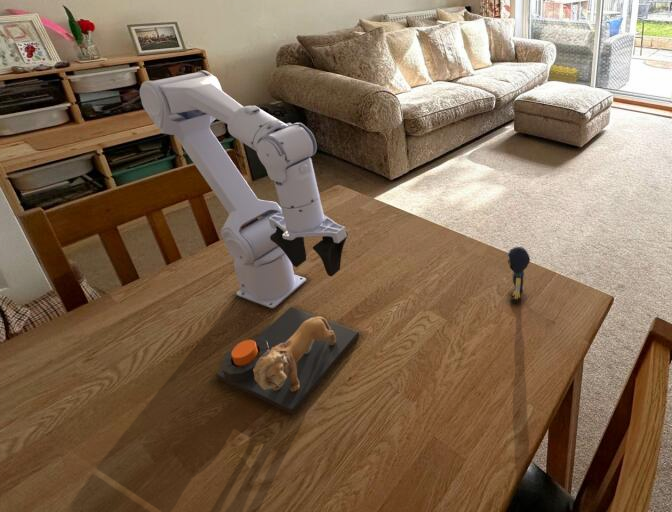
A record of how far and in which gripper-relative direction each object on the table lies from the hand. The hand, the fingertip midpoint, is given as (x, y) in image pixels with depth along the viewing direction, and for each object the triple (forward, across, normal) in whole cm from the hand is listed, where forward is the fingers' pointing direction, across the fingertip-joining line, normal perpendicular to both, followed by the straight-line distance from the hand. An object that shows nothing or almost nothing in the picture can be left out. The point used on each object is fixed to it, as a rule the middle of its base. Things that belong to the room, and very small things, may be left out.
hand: (317, 267), depth 70 cm
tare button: (+8, -4, -13) cm, 15 cm away
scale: (+11, +1, -9) cm, 14 cm away
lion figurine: (+10, +5, -11) cm, 16 cm away
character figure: (+13, +31, +16) cm, 37 cm away
